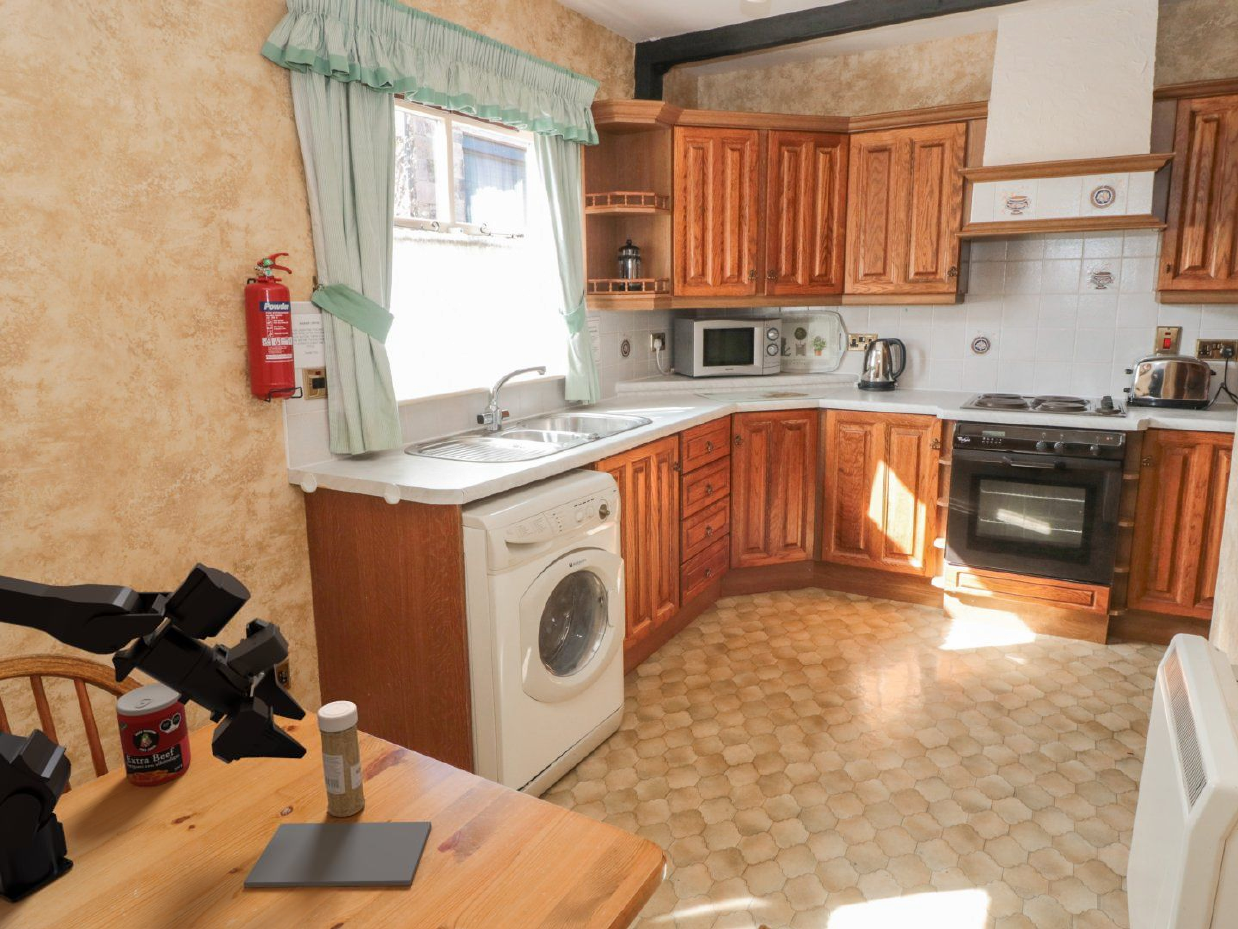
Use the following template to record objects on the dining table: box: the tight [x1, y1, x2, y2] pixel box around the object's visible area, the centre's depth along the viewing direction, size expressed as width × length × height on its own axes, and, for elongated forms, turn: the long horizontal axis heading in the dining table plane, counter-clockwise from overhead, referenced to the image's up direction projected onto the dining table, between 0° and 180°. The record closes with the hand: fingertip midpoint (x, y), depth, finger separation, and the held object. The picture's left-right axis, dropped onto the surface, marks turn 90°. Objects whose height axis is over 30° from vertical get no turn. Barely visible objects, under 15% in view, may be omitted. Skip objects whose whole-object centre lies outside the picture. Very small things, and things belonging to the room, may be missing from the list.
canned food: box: [115, 682, 192, 788], centre depth 110 cm, size 8×8×11 cm
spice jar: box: [316, 700, 366, 818], centre depth 101 cm, size 5×5×13 cm
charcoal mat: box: [243, 821, 432, 888], centre depth 94 cm, size 18×10×1 cm, turn 90°
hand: (304, 735), depth 99 cm, fingers open, 9 cm apart
